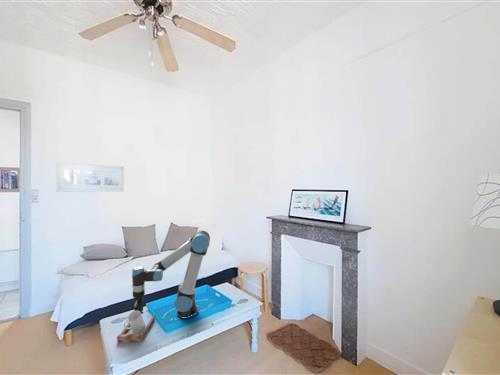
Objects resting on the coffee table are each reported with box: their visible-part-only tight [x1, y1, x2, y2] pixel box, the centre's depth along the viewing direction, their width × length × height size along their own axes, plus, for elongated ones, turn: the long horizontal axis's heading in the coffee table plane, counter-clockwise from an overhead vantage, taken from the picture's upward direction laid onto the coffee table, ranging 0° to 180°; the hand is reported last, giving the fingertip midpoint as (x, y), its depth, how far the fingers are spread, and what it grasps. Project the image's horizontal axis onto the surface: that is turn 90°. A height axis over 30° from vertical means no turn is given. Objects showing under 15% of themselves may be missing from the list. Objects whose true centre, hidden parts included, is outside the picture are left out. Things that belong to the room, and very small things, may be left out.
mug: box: [123, 310, 147, 334], centre depth 167 cm, size 12×8×12 cm
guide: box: [116, 316, 156, 344], centre depth 169 cm, size 15×24×4 cm, turn 2°
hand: (139, 323), depth 174 cm, fingers closed
